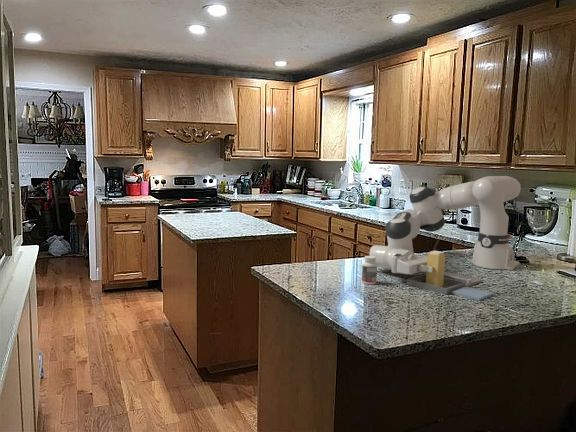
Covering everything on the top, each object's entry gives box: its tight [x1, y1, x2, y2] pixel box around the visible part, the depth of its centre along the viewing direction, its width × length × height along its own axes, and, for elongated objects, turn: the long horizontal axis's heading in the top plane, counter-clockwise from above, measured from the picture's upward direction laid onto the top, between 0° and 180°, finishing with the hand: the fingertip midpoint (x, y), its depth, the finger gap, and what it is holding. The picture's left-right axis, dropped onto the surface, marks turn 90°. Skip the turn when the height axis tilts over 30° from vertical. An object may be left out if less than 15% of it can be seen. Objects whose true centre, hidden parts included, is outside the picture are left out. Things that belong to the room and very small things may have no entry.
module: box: [425, 250, 446, 287], centre depth 173 cm, size 4×4×13 cm
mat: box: [450, 286, 494, 302], centre depth 164 cm, size 10×10×1 cm
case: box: [406, 270, 483, 295], centre depth 177 cm, size 26×16×2 cm, turn 132°
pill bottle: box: [361, 255, 378, 285], centre depth 175 cm, size 5×5×10 cm
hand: (437, 268), depth 172 cm, fingers closed on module, 4 cm apart
